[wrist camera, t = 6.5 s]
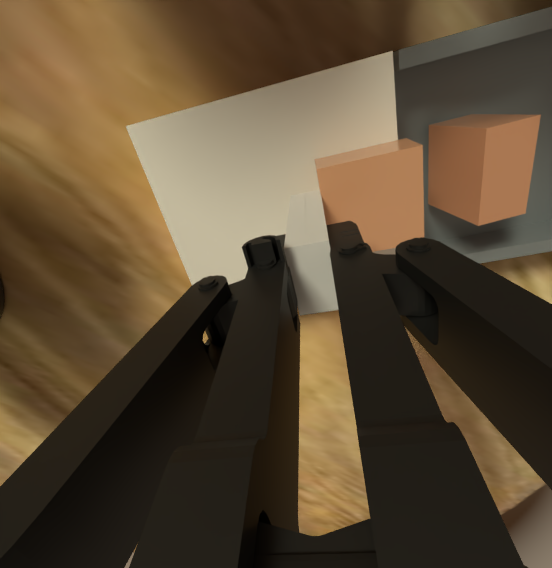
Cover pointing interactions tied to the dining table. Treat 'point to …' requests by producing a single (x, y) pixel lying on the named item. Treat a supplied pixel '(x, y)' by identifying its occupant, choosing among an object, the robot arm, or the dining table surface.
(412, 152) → the tile
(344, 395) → the dining table surface
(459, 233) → the tray
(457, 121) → the tile
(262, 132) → the board
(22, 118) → the dining table surface
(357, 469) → the dining table surface
